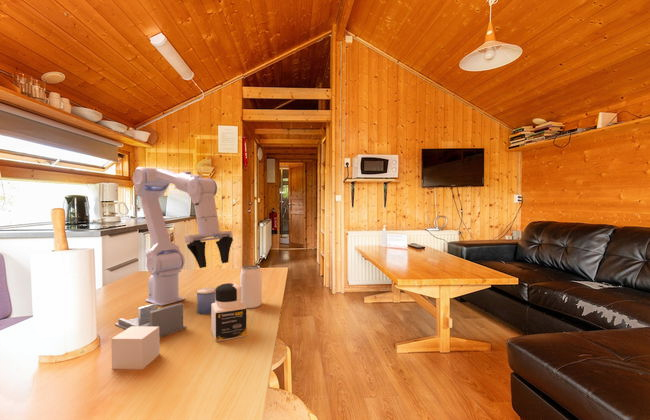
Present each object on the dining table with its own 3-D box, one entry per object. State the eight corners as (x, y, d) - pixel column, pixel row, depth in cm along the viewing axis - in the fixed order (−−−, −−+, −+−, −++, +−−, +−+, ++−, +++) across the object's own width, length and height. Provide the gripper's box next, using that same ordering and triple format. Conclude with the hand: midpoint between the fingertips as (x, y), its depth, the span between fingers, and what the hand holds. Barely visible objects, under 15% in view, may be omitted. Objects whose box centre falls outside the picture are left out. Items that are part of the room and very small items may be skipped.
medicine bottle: (215, 342, 72) (215, 290, 71) (211, 331, 78) (211, 283, 78) (246, 336, 75) (246, 286, 75) (240, 326, 81) (240, 280, 81)
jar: (193, 312, 91) (192, 290, 91) (208, 307, 96) (208, 286, 96) (204, 315, 89) (204, 293, 88) (219, 310, 93) (219, 289, 93)
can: (256, 309, 94) (256, 269, 94) (236, 308, 95) (236, 268, 95) (264, 302, 100) (264, 265, 100) (246, 301, 101) (246, 264, 101)
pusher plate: (138, 324, 80) (138, 307, 80) (155, 319, 84) (155, 303, 83) (140, 325, 79) (140, 308, 79) (157, 320, 83) (157, 303, 83)
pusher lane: (115, 324, 82) (114, 300, 82) (150, 314, 89) (149, 292, 89) (150, 340, 73) (150, 313, 72) (186, 327, 80) (186, 303, 80)
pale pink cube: (131, 354, 66) (131, 326, 66) (159, 354, 66) (159, 326, 66) (111, 369, 60) (111, 338, 60) (142, 369, 60) (142, 338, 60)
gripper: (193, 217, 83) (200, 268, 81) (235, 214, 95) (243, 259, 94) (177, 222, 86) (185, 271, 85) (220, 219, 99) (227, 262, 97)
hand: (214, 265), depth 90 cm, fingers open, 7 cm apart
